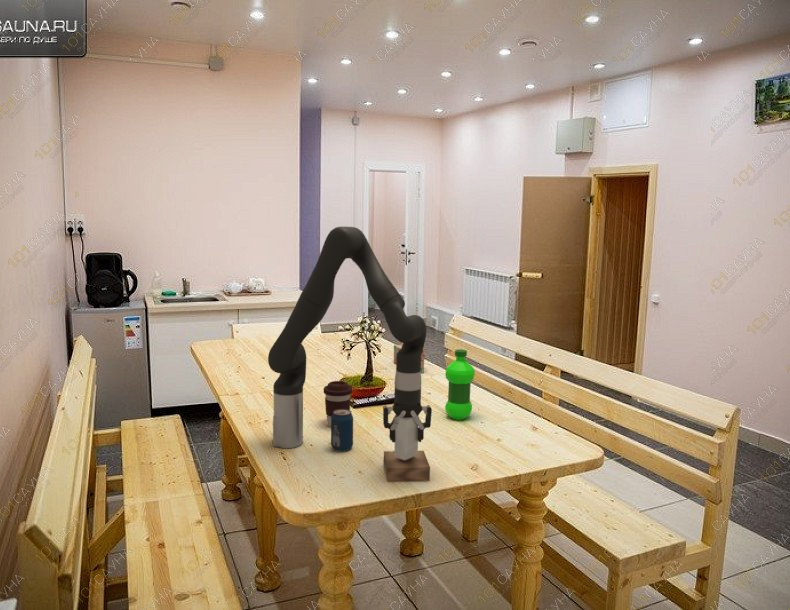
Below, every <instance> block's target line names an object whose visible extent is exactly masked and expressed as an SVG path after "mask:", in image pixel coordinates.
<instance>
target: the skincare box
mask: <svg viewBox="0 0 790 610" xmlns="http://www.w3.org/2000/svg"><path fill="white" fill-rule="evenodd" d="M418 418H420V417H419V415H418ZM396 419H397V417H395V420H396ZM398 421H399V424H397V426H396V427H395V442H394V450H393V451H394V456H395V457H396V458H399V459H402V460H407V459H409V458H411V457H413V456H415V455H417V454H418V451H419V442H418V428H419V426H418V424H417V423H416V421H415V420H414V418H400V419H399V420H398Z"/></svg>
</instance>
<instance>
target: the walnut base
mask: <svg viewBox="0 0 790 610" xmlns="http://www.w3.org/2000/svg"><path fill="white" fill-rule="evenodd" d="M382 461H383V469H384V474H385V477H386V478H385V479H386V482H387V483H389V482H390V483H393V482H394V483H395V482H425V481H426V482H427V481H430V479H431V478H430V477H431V466H430V463H429V461H428V458H427V455H426V453H425V451H424V450H418V454H417V455H415V456H413V457H411V458H409V459H407V460H402V459H399V458H396V457H395V456H394V450H390V451H388V450H387V451H385V450H383V460H382Z"/></svg>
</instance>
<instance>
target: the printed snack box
mask: <svg viewBox="0 0 790 610" xmlns="http://www.w3.org/2000/svg"><path fill="white" fill-rule="evenodd" d="M402 346H403V343H402V342H401V344H394V345H393V364H395V365H396V357H397V353H398V351H399V350H400V349H401V348H402ZM425 349H426V348H425V347H424V348H423V351H422V354H421V375H423V374H424V373H425V353H426V351H425Z"/></svg>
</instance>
